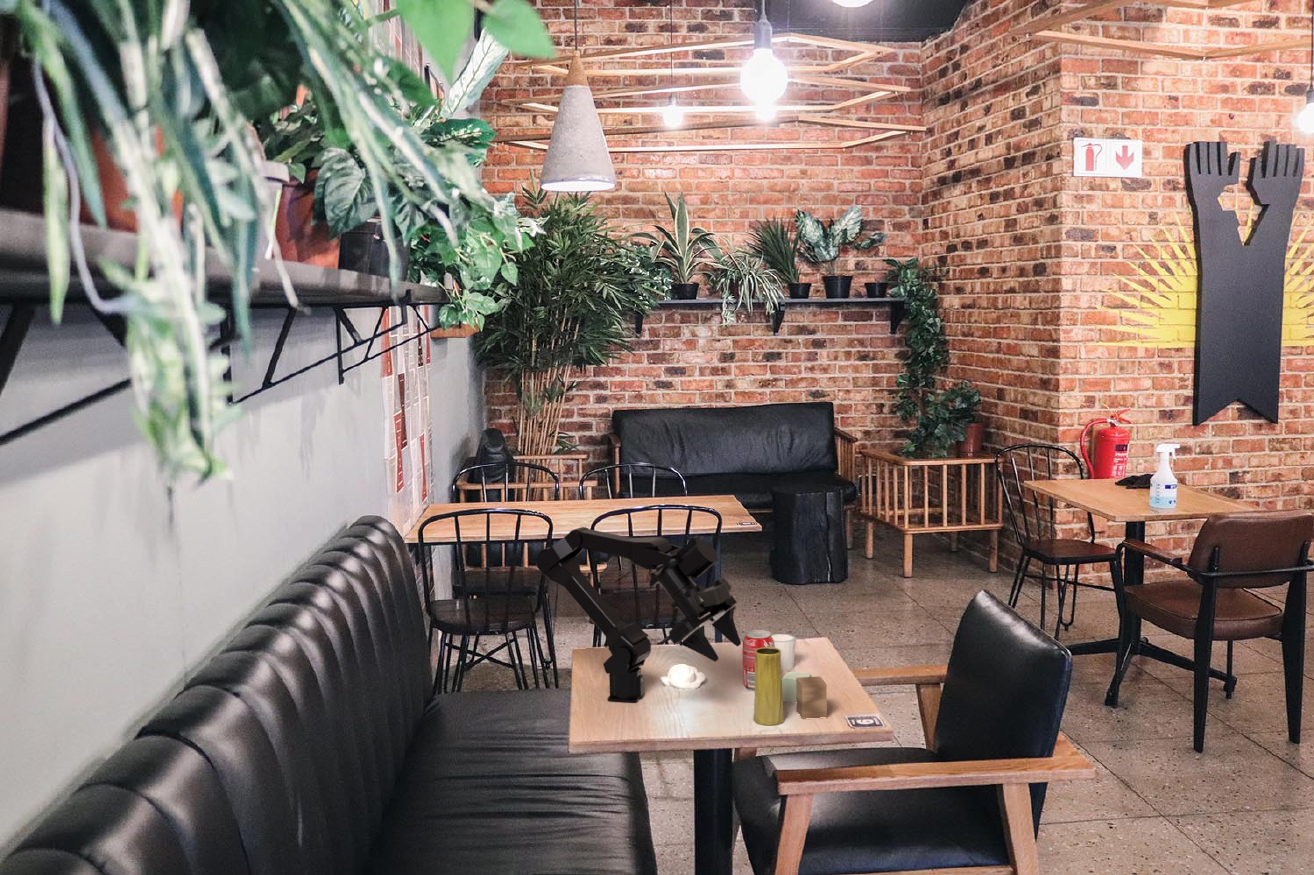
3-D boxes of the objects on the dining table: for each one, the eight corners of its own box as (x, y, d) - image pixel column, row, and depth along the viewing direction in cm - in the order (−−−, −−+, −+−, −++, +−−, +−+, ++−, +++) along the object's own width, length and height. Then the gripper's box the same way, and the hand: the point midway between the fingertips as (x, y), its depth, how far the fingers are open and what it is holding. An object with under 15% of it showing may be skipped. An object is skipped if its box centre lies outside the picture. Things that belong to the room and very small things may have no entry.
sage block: (782, 701, 226) (781, 678, 225) (789, 693, 230) (788, 671, 230) (805, 704, 224) (804, 680, 223) (811, 696, 228) (811, 673, 228)
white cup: (761, 665, 250) (760, 636, 250) (786, 661, 253) (786, 632, 252) (776, 673, 244) (776, 643, 243) (802, 668, 247) (801, 639, 246)
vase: (759, 727, 211) (759, 656, 209) (749, 716, 216) (748, 647, 215) (788, 723, 212) (788, 653, 211) (777, 713, 218) (776, 645, 217)
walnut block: (802, 719, 214) (802, 685, 214) (796, 711, 219) (796, 677, 219) (826, 718, 215) (826, 684, 214) (820, 709, 220) (820, 676, 219)
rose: (699, 657, 244) (710, 669, 234) (700, 676, 244) (710, 689, 235) (656, 660, 242) (665, 673, 232) (657, 679, 242) (665, 693, 233)
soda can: (775, 681, 238) (774, 629, 237) (775, 692, 231) (774, 638, 230) (743, 681, 239) (742, 628, 238) (742, 692, 232) (741, 637, 231)
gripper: (682, 582, 209) (730, 647, 205) (729, 557, 224) (775, 617, 221) (648, 612, 215) (695, 676, 211) (696, 585, 230) (741, 645, 226)
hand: (728, 652), depth 217 cm, fingers open, 9 cm apart
